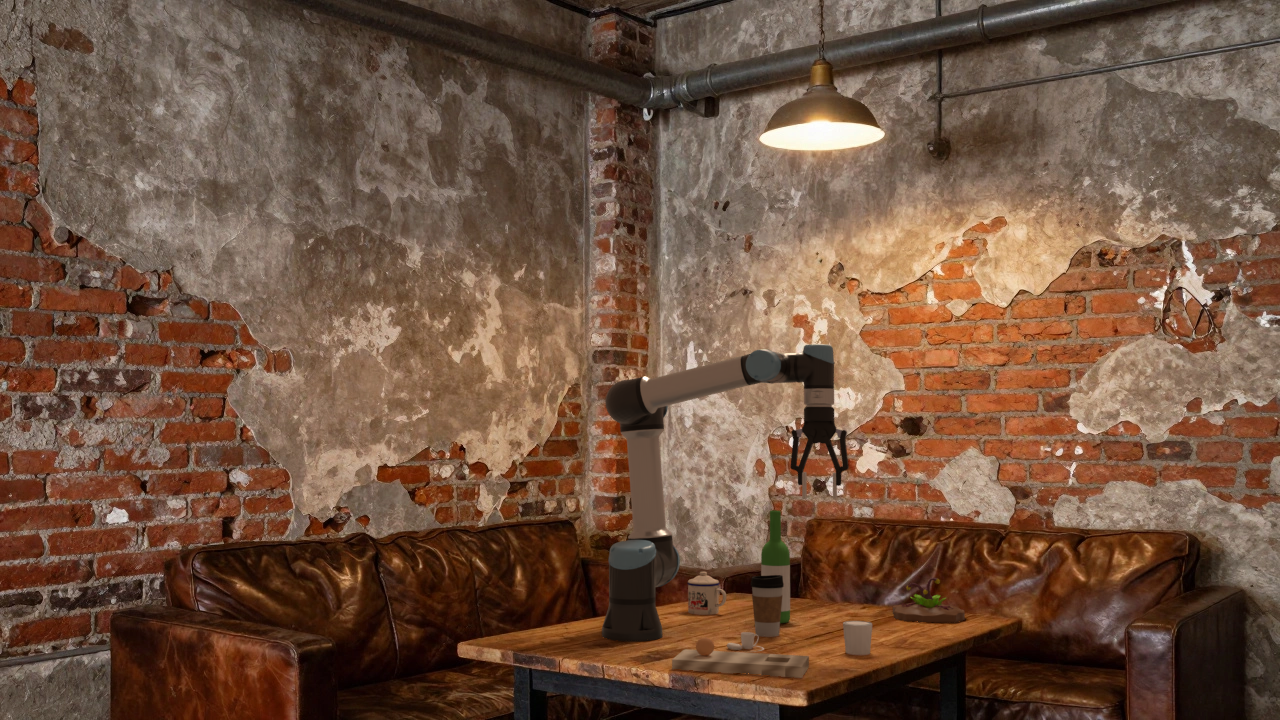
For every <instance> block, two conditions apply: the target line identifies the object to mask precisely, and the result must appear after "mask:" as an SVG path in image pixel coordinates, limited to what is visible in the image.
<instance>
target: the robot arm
mask: <svg viewBox="0 0 1280 720" xmlns="http://www.w3.org/2000/svg"><path fill="white" fill-rule="evenodd" d="M834 358H835V356H834V347H833V346H832V345H830V344H826V343H825V344H823V343H812V344H806V345H804V346H803V349H802V352H797V353H795V352H787V353H786V352H777V351H774V350H773V351H772V350H770V349H768V348H762V349H756V350H753V351H752V352H751V353H748V354H744V355H739V356H736V357H732V358H729V359H727V358H726V359H725V360H720V361H716V362H713V363H708V364H704V365H701V366H696V367H693V368H689V369H685V370H681V371H680V370H679V371H676V372H673V373H669V374H665V375H661V376H657V377H654V378H650V377H648V376H641V377H637V378H632V379H623V380H620V381H617V382H615V383H613V384H612V386H611V387H610V388H609V389H608V391H607V393H606V396H605V403H604V404H605V408H606V411H607V413H608V415H609V416H610V418H611V419H612V420H613V421H615V422H616V423H619V430H620V431H619V432H620V434H621V435H622V436H623V437H624V438H625V439H626V444H627V445H626V447H627V460H628V461H627V463H628V472H629V473H628V474H629V486H630V487H629V489H630V498H631V499H630V500H631V502H630V503H631V511H632V512H631V513H632V516H631V517H632V526H633V527H632V532H631V533H630V534H629V535H628V537H627V540H621V541H619V542H618V541H617V542H616V543H613V544H612V545H611V547H610V549H609V554H608V560H607V561H608V608H607V611H606V614H605V618H604V620H603V623H602V627H601V637H602V638H603V637H604V639H605V638H607V639H606V640H609V639H611V640H610V641H616V640H618V641H617V642H646V641H647V642H648V641H649V642H650V641H655V640H658V639H661V638H663V627H662V626H663V625H662V622H661V619H660V616H659V613H658V610H657V606H656V588H659V587H663V586H665V585H666V584H668V583H670V582H671V581H672V580H673V579H674V578H675V577H676V576H677V574H678V572H679V569H680V566H681V559H680V554H679V552H678V549H677V548H676V547H675V546H674V543H673V541H674V539H673V533H672V532H671V531H670V530H669V529H668V528H667V527H666V523H667V522H666V513H665V500H664V486H663V472H662V471H663V470H662V459H661V445H660V436H661V435H662V434H663V433H664V431H665V424H664V423H665V422H664V418H665V417H666V416H667V413H668V410H669V406H671V405H676V404H679V403H684V402H687V401H688V402H689V401H693V400H695V399H700V398H703V397H707V396H712V395H716V394H720V393H724V392H727V391H732V390H736V389H741V388H744V387H748V386H754V385H758V384H770V385H773V384H785V383H786V384H788V383H789V384H790V383H798V384H799V383H803V404H804V405H805V407H804V408H803V425H802V427H801V428H798V429H792V430H791V435H792V440H793V441H792V446H791V447H792V448H791V457H790V458H791V459H790V469H791V470H793V471H795V472H797V484H798V486H801V492H802V493H801V495H802V496H801V498H802V500H806V499H808V496H807V495H808V493H807V490H808V489H807V485H808V484H807V481H808V480H807V479H808V478H807V474H808V473H807V471H804V470H805V467H806V465H807V463H808V462H807V461H808V459H809V456H810V455H811V454H810V452H811V450H812V448H813V445H814V444H821V445H822V444H824V445H825V446H826V449H827V450H828V454H829V456H830V459H831V462H832V465H833V467H834V470H835V472H832V500H838V486H839V487H840V486H841V485H842V472H845V471H848V470H849V457H848V450H847V449H848V448H847V441H846V439H847V435H848V431H847V430H845V429H840V428H837V427H836V425H835V408H834V406H833V405H835V359H834ZM802 434H804V436H805V437H806V439H807V441H806V443H805V444H806V445H805V447H804V451H803V453H802V456H801V459H800V461H799V465H797V464H798V458H799V457H798V455H799V445H800V438H801V437H802ZM835 434H837V438H838V439H839V445H840V446H839V447H840V455H841V461H842V462H841V463H842V466H841V465H840V462H839V459H838V457H837V454H836V451H835V448H834V446H833V442H832V438H833V437H834V435H835Z"/></svg>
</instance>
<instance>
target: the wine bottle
mask: <svg viewBox="0 0 1280 720" xmlns="http://www.w3.org/2000/svg"><path fill="white" fill-rule="evenodd" d="M781 514H782V511H781V510H775V509H774V510H770V511H769V540H768V541H767V542H766V543H765V544H764V546H763V547H762V550H761V558H760V560H761V566H760V576H769V575H782V576H783V583H784V585H783V586H784V587H782V606H781V617H780V624H786V623H789V622H790V619H791V563H790V562H791V561H790V559H791V557H790V556H791V555H790V550H789V547H788V545H786V544H787V543H785V542H784V541H783V540H782V527H781V526H782V521H781V520H782V515H781Z"/></svg>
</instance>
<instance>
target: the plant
mask: <svg viewBox="0 0 1280 720" xmlns="http://www.w3.org/2000/svg"><path fill="white" fill-rule="evenodd" d="M932 581H933V582H934V583H935V584H936V585H939V584H940V583H941V580H940V579H939V578H938V577H931V578H929V580H928V581H927V584H926V587H925V588H923V586H921V585H920V584H918V583H915V582H911V583H910V584H908V585H906V587H905V588H906V590H907V591H910V590H911V589H912V586H915V587H917V588H918V590H919V592H920V594H917V593H915V594H913V597H912V596H909V597H910V598H909V599H911V600H912V601H911V602H910V603H903V602H902V603H901V604H896V605H895V604H894V605H893V606H892V615H893V614H894V615H893V619H894V618H896V619H895V620H897V619H899V620H898V621H902V620H904V621H903V622H905V621H918V622H917V623H920V622H936V623H935V624H958V623H960V622H959V621H961V622H964V621H965V619H966V618H965V617H966V615H965V614H966V613H965V610H964V609H961V608H959V607H958V606H955V605H950V604H943V601H946V599H947V597H943V598H941V595H940V594H935V595H933V596H932V595H931V583H932ZM940 598H941V599H940ZM939 599H940V600H939ZM963 620H964V621H963ZM957 622H958V623H957Z"/></svg>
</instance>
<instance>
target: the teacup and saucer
mask: <svg viewBox="0 0 1280 720" xmlns="http://www.w3.org/2000/svg"><path fill="white" fill-rule="evenodd" d="M755 636H757V640H756V641H755ZM740 639H741V644H739V643H735V642H728V643H727V644H726V647H727V648H728V649H730V650H734V651H741V650H743V649H745V650H749V651H748V653H753V648H755V647H757V648H760V650H758V652H760V651H764V650H765V648H764V647H763V646H759V645H757V644H758V642H759V639H760V636H758V635H756V633H755V632H751V631H743V632H740Z"/></svg>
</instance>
